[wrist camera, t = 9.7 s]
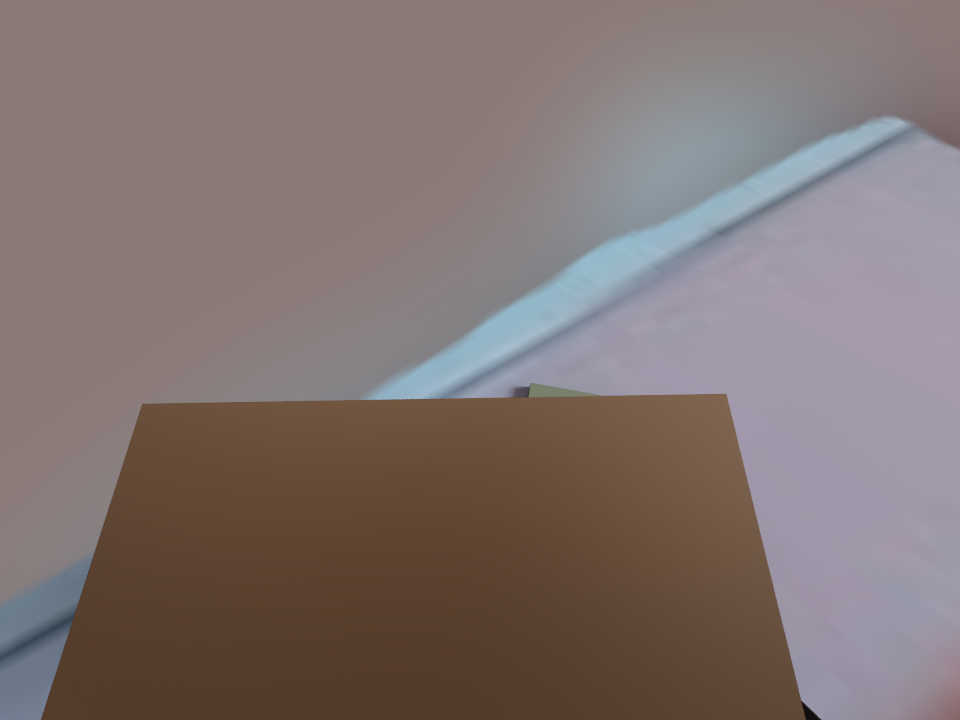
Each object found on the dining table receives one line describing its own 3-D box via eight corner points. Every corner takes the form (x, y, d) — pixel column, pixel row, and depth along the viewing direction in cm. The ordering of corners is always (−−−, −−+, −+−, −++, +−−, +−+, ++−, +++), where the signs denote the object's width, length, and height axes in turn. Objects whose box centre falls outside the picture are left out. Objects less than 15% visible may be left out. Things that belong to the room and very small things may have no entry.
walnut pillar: (549, 591, 13) (1083, 1857, 1) (425, 589, 14) (-245, 1604, 1) (541, 459, 15) (726, 393, 3) (430, 460, 15) (142, 403, 3)
